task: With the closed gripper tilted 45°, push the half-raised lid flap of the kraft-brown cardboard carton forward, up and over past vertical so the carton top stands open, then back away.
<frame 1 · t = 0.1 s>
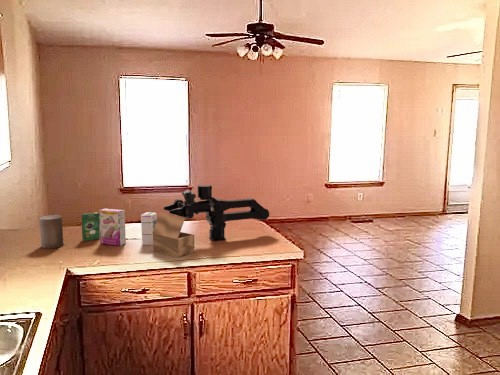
hand: (166, 210, 228), 17 cm above the worktop, tool horizontal, fingers open, 9 cm apart
pillar candle: (52, 246, 229), on the worktop
syrup box: (149, 243, 233), on the worktop
candy bar box: (113, 244, 232), on the worktop
coffee box: (91, 240, 240), on the worktop
carton: (173, 251, 219), on the worktop
carton flap: (168, 225, 215), point 12 cm above the worktop, hinge at 60.0°, touching carton
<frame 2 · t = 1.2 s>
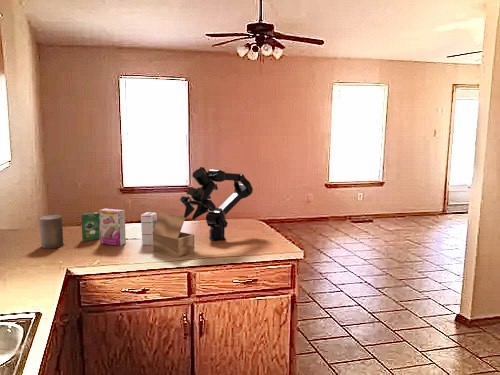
hand: (188, 218, 224), 14 cm above the worktop, tool tilted 45°, fingers open, 5 cm apart
nothing on the worktop moved.
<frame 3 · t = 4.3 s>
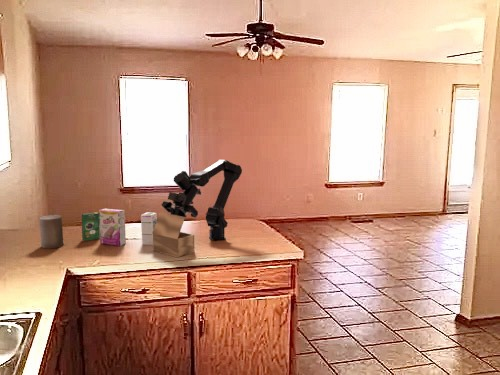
hand: (169, 224, 216), 13 cm above the worktop, tool tilted 45°, fingers closed, pressing on carton flap
carton flap: (168, 225, 215), point 13 cm above the worktop, hinge at 61.9°, touching carton, gripper
everything else where it was.
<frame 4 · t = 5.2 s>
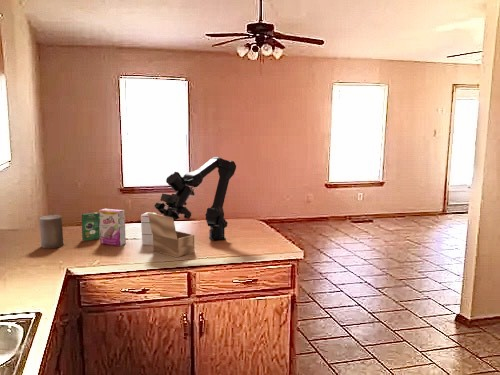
hand: (162, 226, 213), 13 cm above the worktop, tool tilted 45°, fingers closed, pressing on carton flap
carton flap: (162, 225, 213), point 13 cm above the worktop, hinge at 102.1°, touching carton, gripper
everything else where it was.
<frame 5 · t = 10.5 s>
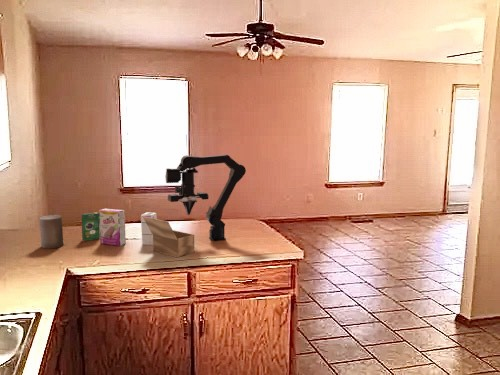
hand: (188, 214, 235), 13 cm above the worktop, tool pointing down, fingers closed
carton flap: (159, 227, 212), point 12 cm above the worktop, hinge at 120.0°, touching carton
everything else where it was.
at the end: carton flap at +120° (first picture: +60°); syrup box moved 0.2 cm from its start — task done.
